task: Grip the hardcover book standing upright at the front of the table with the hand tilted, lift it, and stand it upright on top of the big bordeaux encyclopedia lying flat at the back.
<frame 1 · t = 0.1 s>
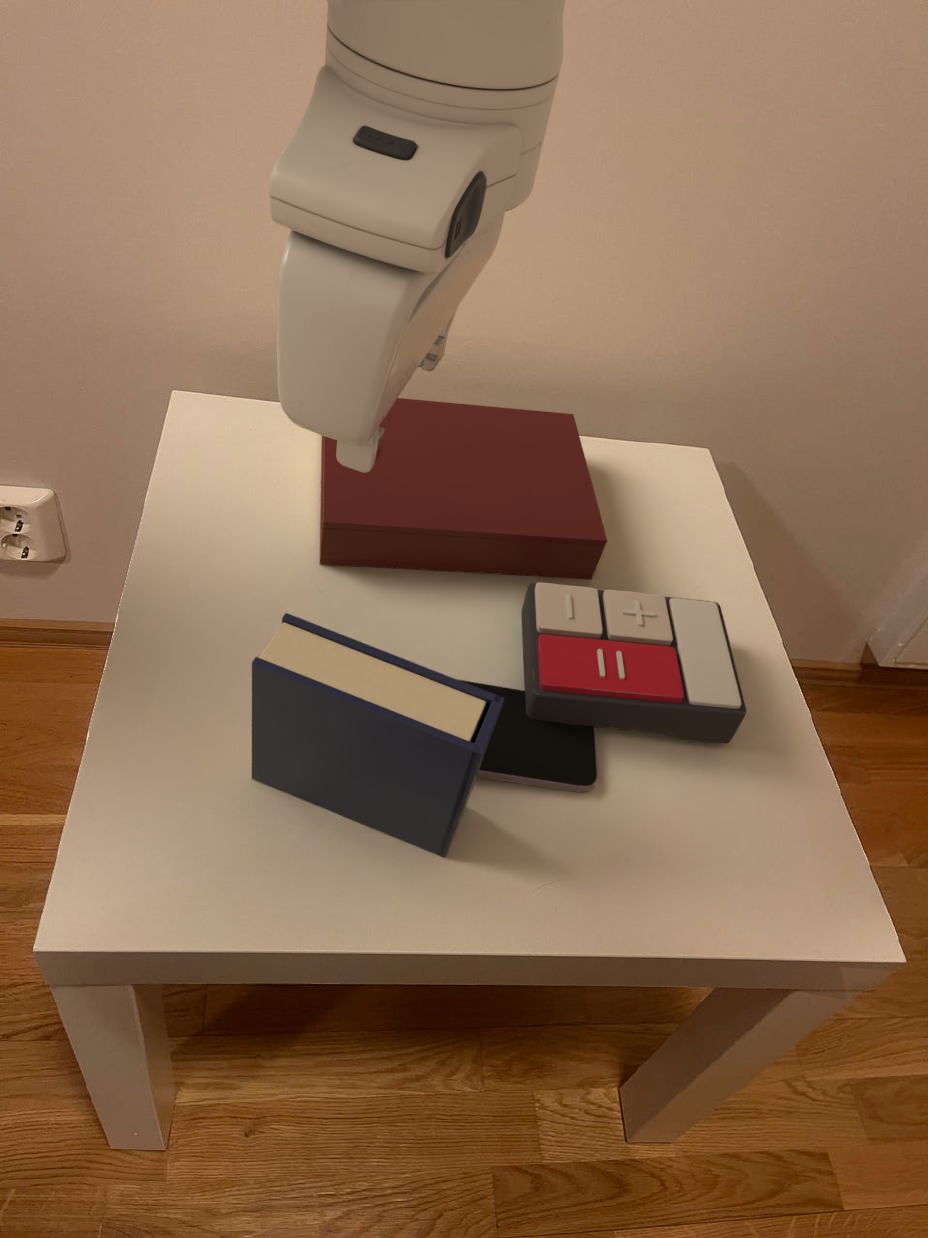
hand: (393, 408, 46), 23 cm above the table, tool pointing down, fingers open, 8 cm apart
calculator: (619, 676, 68), on the table, touching smartphone
hardcover book: (359, 792, 58), on the table
encyclopedia: (451, 503, 77), on the table
smartphone: (486, 736, 63), on the table, touching calculator
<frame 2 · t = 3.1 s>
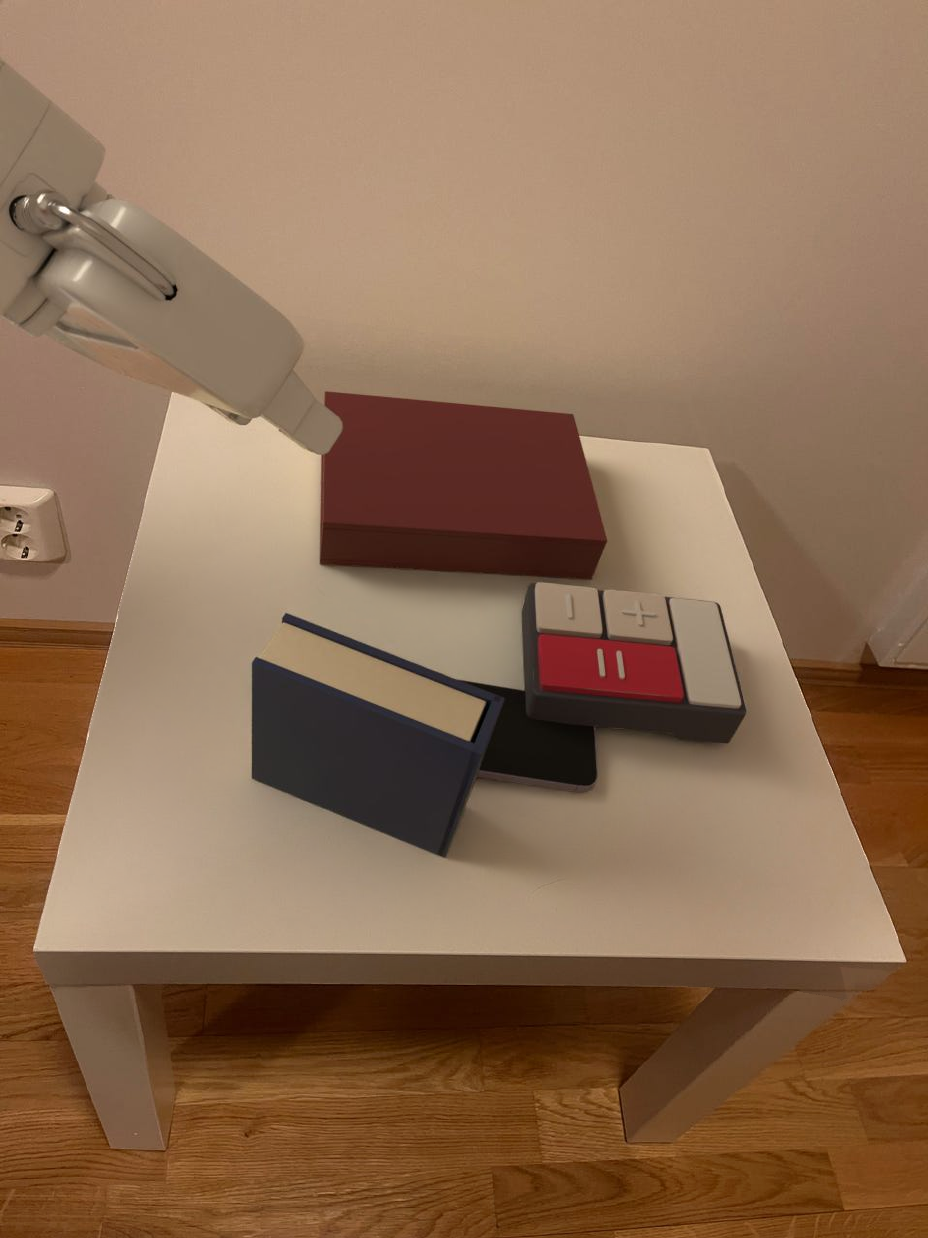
hand: (285, 424, 42), 24 cm above the table, tool tilted 50°, fingers open, 8 cm apart
nothing on the table moved.
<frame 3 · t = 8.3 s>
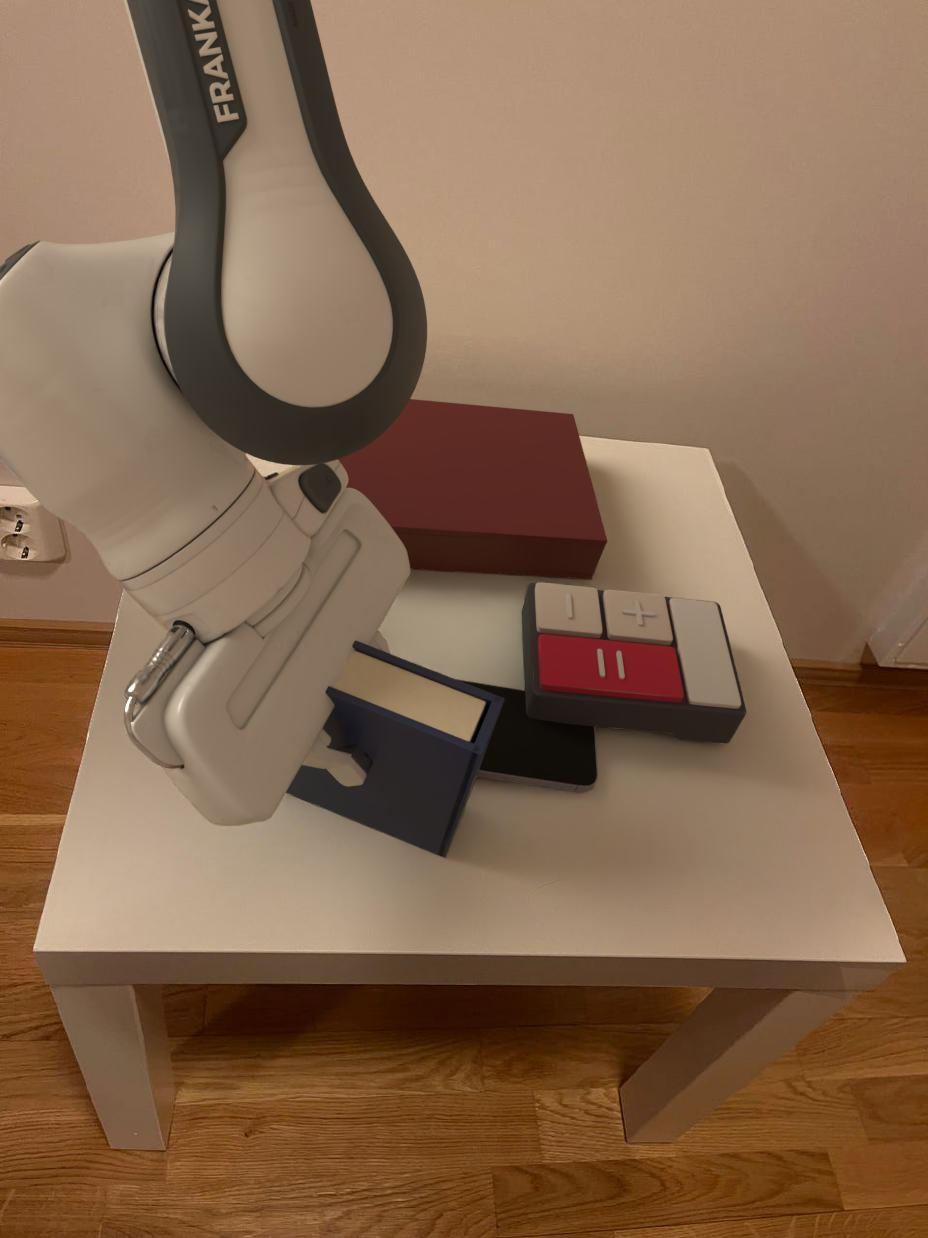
hand: (378, 739, 53), 7 cm above the table, tool tilted 45°, fingers closed on hardcover book, 4 cm apart
hardcover book: (359, 792, 58), on the table, touching gripper
everything else where it was.
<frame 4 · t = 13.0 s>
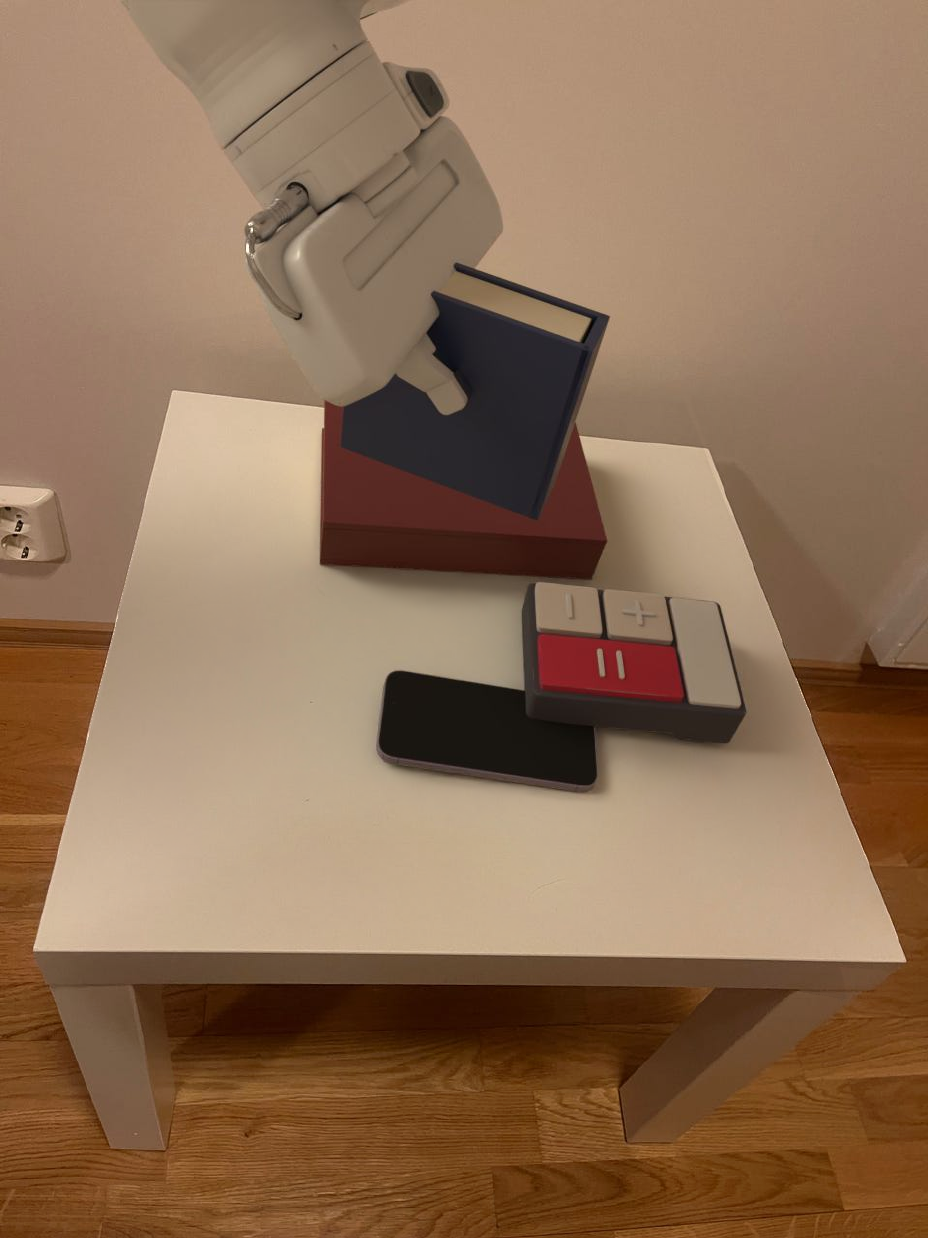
hand: (475, 380, 52), 21 cm above the table, tool tilted 45°, fingers closed on hardcover book, 4 cm apart
hardcover book: (447, 464, 57), point 15 cm above the table, touching gripper
everything else where it was.
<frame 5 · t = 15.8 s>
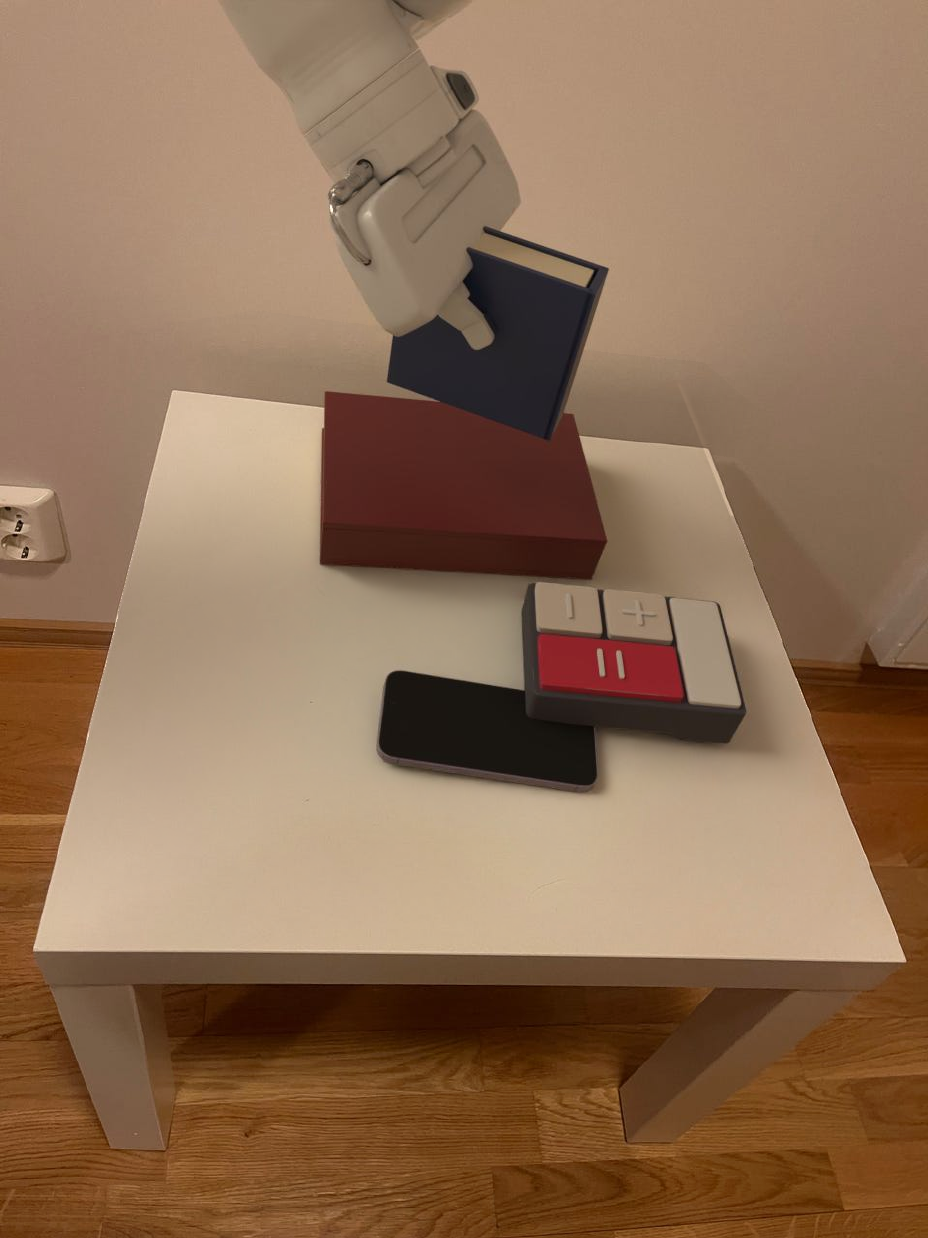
hand: (499, 323, 64), 17 cm above the table, tool tilted 45°, fingers closed on hardcover book, 4 cm apart
hardcover book: (475, 397, 69), point 11 cm above the table, touching gripper
everything else where it was.
when the fingers open (11 cm above the table, at t = 18.0 s): hardcover book stays where it is, resting on encyclopedia.
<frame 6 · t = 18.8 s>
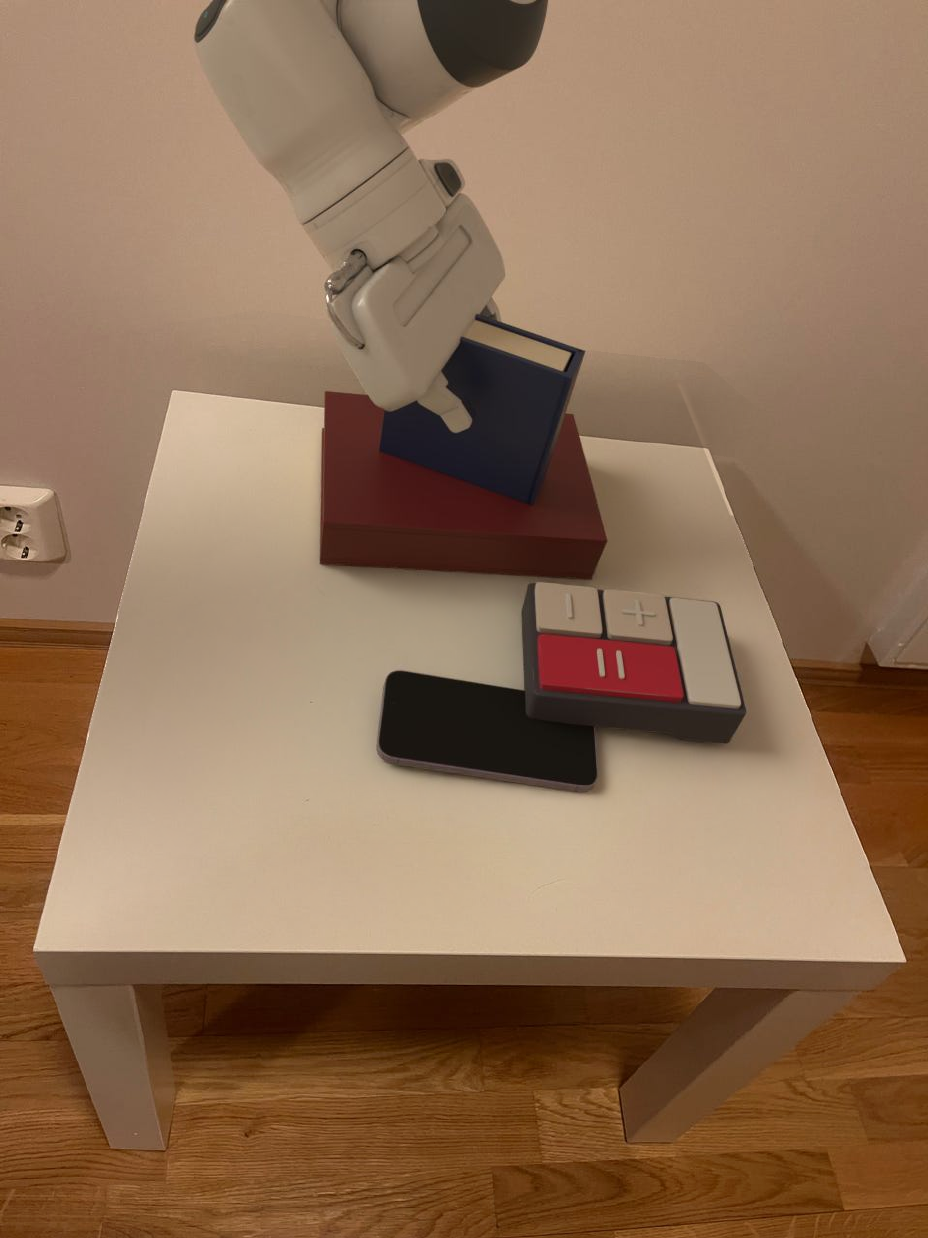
hand: (485, 392, 68), 12 cm above the table, tool tilted 45°, fingers open, 8 cm apart
hardcover book: (462, 463, 74), point 5 cm above the table, touching encyclopedia
encyclopedia: (451, 503, 77), on the table, touching hardcover book
everything else where it was.
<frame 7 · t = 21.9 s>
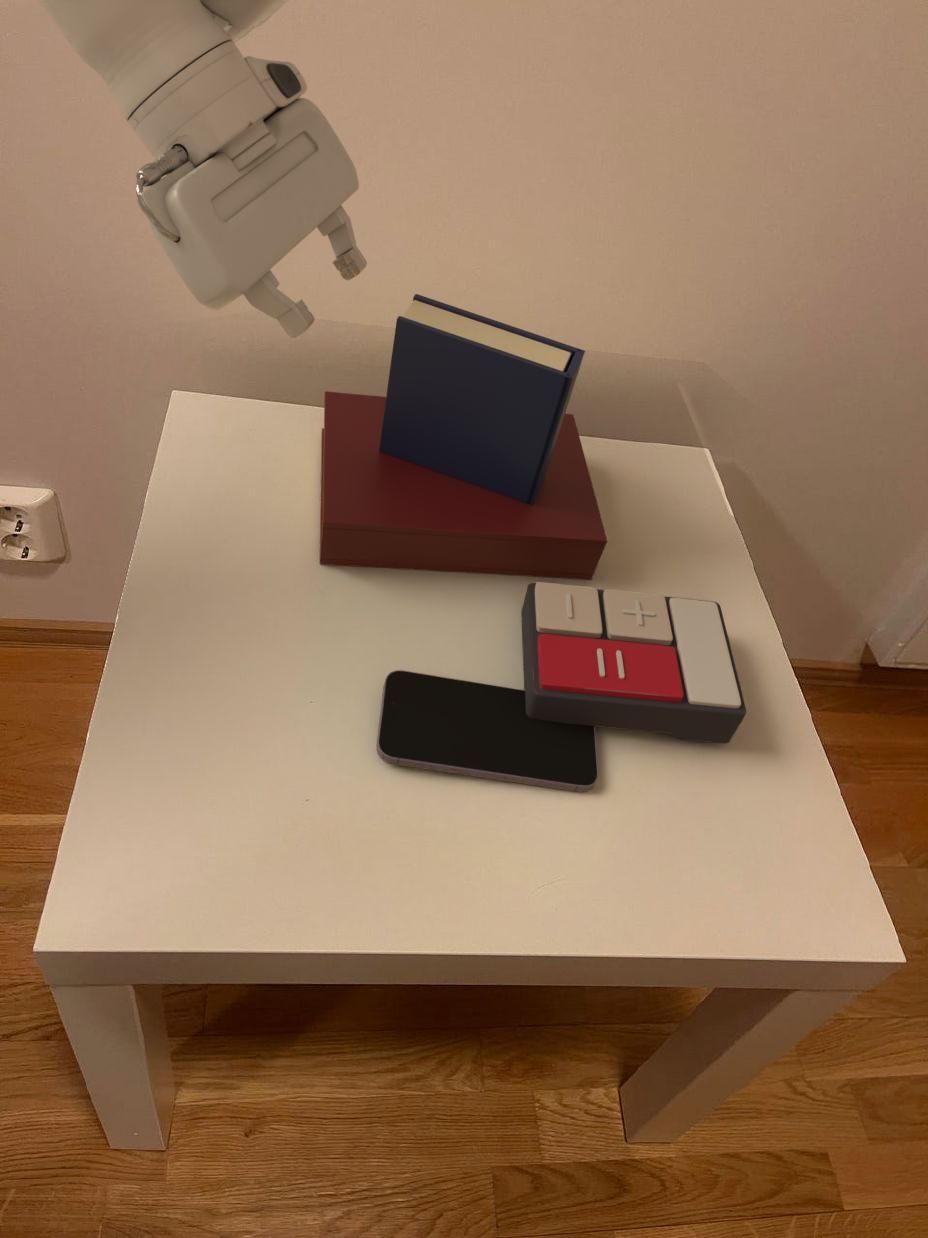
hand: (332, 300, 68), 14 cm above the table, tool tilted 45°, fingers open, 8 cm apart
nothing on the table moved.
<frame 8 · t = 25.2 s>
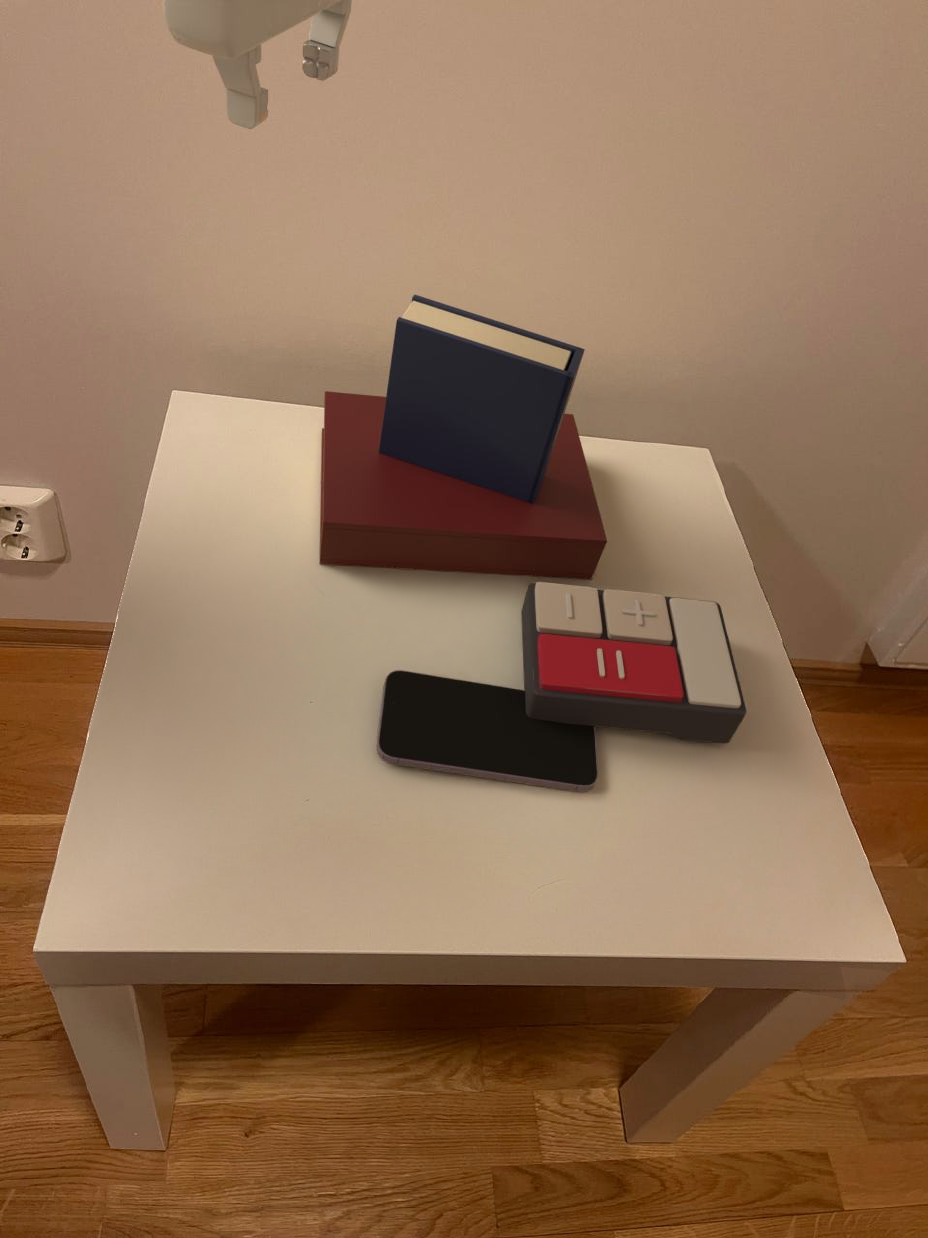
hand: (285, 97, 54), 29 cm above the table, tool pointing down, fingers open, 8 cm apart
nothing on the table moved.
at the end: hardcover book inside the target area on the encyclopedia (0.2 cm from its centre), point 4.5 cm above the encyclopedia's base; hardcover book tilted 0°; the gripper is holding nothing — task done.
